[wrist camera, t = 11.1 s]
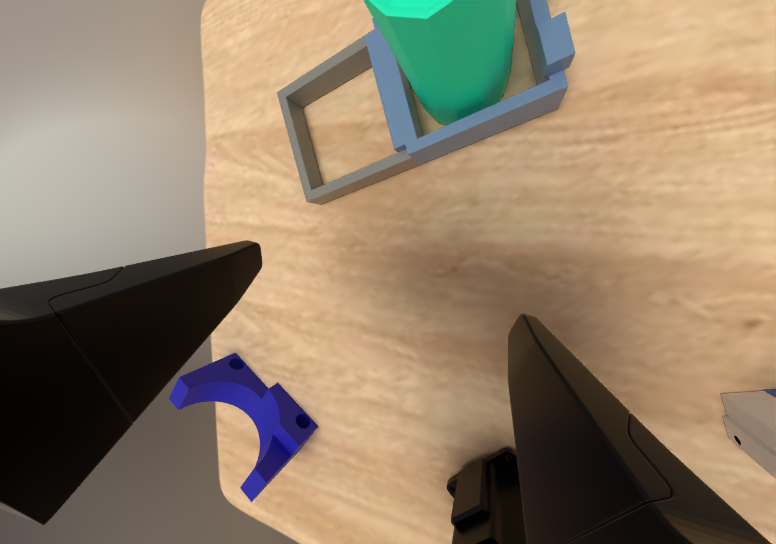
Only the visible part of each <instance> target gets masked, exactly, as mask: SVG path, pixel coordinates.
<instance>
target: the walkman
mask: <svg viewBox="0 0 776 544" xmlns="http://www.w3.org/2000/svg"><path fill="white" fill-rule="evenodd" d="M721 397H722V400H723V404H724V407H725V410H726V414H727V416H723V419H724V423H725V426H726V430H727V433H728V436H729V439H730V440H732V441H733V442H734V443H735V444H736V445H737V446H738V447H740V448H741V449H742V450H743V451H744V452H745V453H747V454H748V455H749V456H750V457H751V458H752V459H754V460H755V461H756V462H757V463H758V464H759V465H760V466H762V467H763V468H764V469H765V470H766V471H767V472H769V473H770V474H771V475H772V476H773V477H774V478H776V389H773V390H763V391H753V392H738V393H724V394H721Z"/></svg>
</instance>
